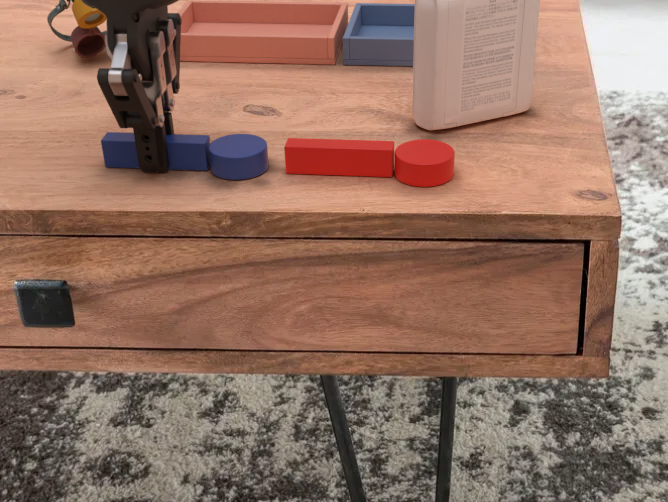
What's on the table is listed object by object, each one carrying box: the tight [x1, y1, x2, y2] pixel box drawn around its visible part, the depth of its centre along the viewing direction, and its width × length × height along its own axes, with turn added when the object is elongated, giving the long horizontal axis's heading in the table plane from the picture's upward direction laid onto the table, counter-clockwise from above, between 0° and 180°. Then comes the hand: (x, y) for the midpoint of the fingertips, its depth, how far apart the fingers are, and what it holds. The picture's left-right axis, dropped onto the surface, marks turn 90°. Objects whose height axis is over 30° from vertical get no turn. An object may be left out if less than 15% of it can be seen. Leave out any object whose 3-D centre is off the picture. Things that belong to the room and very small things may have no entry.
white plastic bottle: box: [412, 0, 541, 131], centre depth 83 cm, size 10×4×12 cm, turn 116°
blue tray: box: [342, 2, 415, 67], centre depth 99 cm, size 16×10×2 cm, turn 83°
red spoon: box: [283, 137, 455, 188], centre depth 78 cm, size 12×4×2 cm, turn 83°
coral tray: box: [177, 0, 349, 66], centre depth 101 cm, size 16×10×2 cm, turn 83°
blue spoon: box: [100, 131, 269, 181], centre depth 79 cm, size 12×4×2 cm, turn 83°
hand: (158, 164), depth 80 cm, fingers closed on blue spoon, 1 cm apart
